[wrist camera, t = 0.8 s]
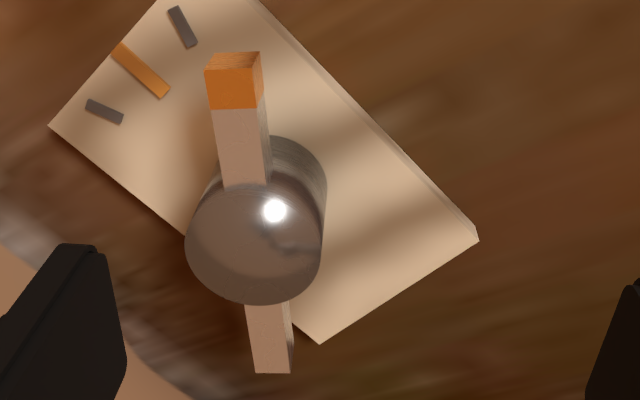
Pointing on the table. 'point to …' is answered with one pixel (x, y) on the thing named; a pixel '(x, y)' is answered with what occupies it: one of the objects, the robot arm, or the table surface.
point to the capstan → (256, 211)
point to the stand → (283, 120)
